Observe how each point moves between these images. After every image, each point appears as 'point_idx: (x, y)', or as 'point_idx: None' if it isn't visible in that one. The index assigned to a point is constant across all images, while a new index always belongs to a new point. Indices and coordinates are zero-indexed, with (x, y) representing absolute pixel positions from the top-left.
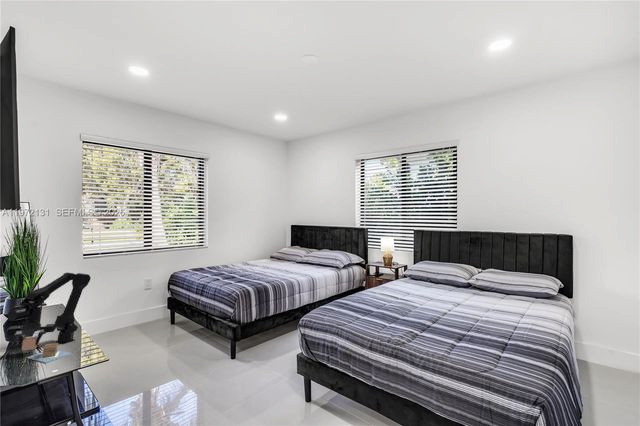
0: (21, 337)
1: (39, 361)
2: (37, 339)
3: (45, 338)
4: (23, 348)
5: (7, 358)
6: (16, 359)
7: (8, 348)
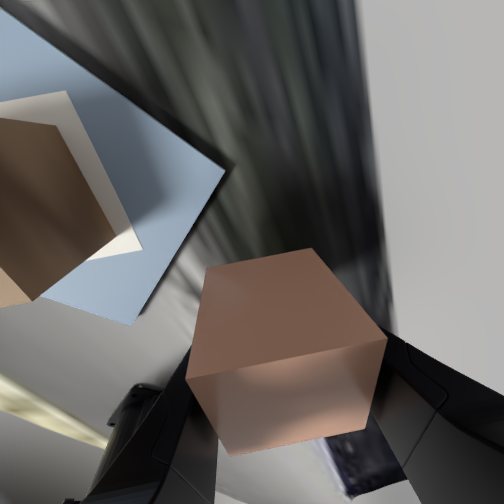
0: (465, 411)
1: (20, 22)
2: (189, 389)
3: None
4: (304, 259)
5: (369, 198)
6: (302, 165)
7: None
